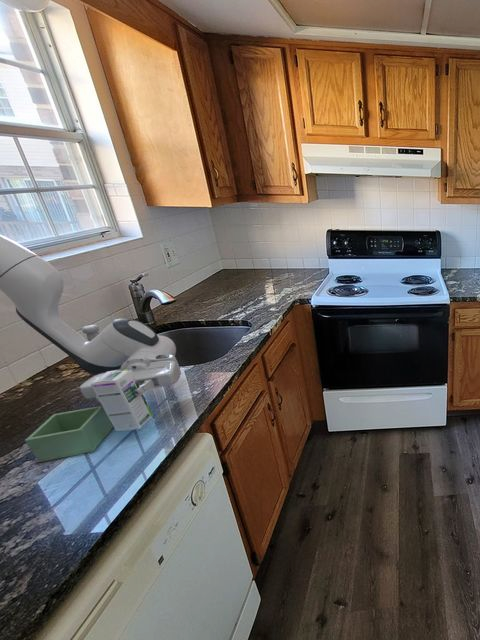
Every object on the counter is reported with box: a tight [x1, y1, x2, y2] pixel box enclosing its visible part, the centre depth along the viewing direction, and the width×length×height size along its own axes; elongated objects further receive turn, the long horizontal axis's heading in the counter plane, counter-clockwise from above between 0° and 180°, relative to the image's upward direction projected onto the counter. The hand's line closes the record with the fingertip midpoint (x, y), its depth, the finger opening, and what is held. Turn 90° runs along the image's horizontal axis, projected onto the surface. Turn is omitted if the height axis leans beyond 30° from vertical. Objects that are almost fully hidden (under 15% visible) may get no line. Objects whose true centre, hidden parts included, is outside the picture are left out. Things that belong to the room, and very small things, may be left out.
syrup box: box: [91, 369, 154, 432], centre depth 91 cm, size 6×6×14 cm
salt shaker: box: [81, 324, 100, 341], centre depth 133 cm, size 6×6×13 cm
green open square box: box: [24, 405, 114, 463], centre depth 91 cm, size 11×11×7 cm
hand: (119, 396), depth 89 cm, fingers closed on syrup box, 6 cm apart
